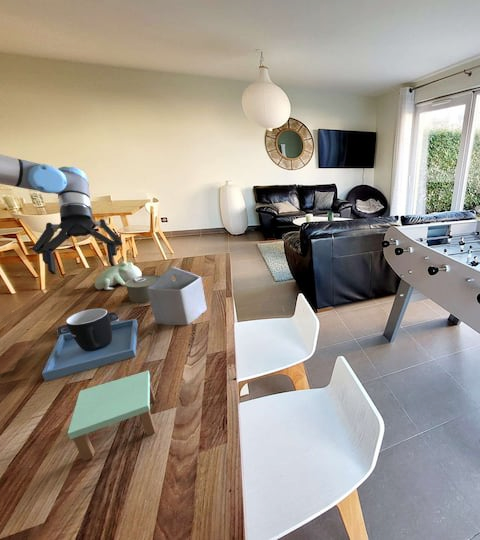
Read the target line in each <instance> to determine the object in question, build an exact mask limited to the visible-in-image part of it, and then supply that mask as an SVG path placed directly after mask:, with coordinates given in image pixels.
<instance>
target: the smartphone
mask: <svg viewBox="0 0 480 540" xmlns="http://www.w3.org/2000/svg"><path fill="white" fill-rule="evenodd" d="M108 315H109V318H110V323H111V324H113V323H118V322H120V318H119V317H118V314H117V313H116V312H113V311H112V312H108ZM56 332H57V337H58V338H59V336H60V335H62V334H66V333H70V331H69V329H68V326H67V324H66V323H65V324H63V325H59V326H57V327H56Z"/></svg>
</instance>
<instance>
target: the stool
mask: <svg viewBox="0 0 480 540" xmlns="http://www.w3.org/2000/svg"><path fill="white" fill-rule="evenodd" d="M154 402H156V396H155V393H154V390H153V387H152V383H151V374H150V371H149V370H145V371H142V372H138V373H136V374H132V375H128V376H125V377H122V378H119V379H115V380H111V381H109V382H105V383H102V384H98V385H94V386H92V387H88V388H85V389H82V390H81V389H80V390H79V393H78V395H77V399H76V403H75V406H74V410H73V413H72V417H71V420H70V424H69V427H68V431H67V436H68V438H69V440H73V442H74V444H75V447H76V449H77V451H78V453H79V455H80V457H81V459H82V461H83V462H86V461H88V460H92V459H94V457H95V452H96V451H95V449H94V446H93V445H92V443H91V440H90V438H89V436H88V434H89V433H92V432H95V431H97V430H98V431H99V430H101V429H103V428H106V427H108V426H111V425H114V424H117V423H120V422H123V421H125V420H128V419H131V418H135V417H136V416H139V417H140V420H141V423H142V426H143V429H144V431H145V432H144V433H145V435H146V437H148V436H149V437H150V436H151V435H154V434H156V425H155V423H154V419H153V416H152V413H151V408H150V407H151V404H152V403H154Z"/></svg>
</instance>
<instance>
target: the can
mask: <svg viewBox="0 0 480 540" xmlns="http://www.w3.org/2000/svg"><path fill="white" fill-rule="evenodd" d="M160 276H161V275H157V274H147V275H142V276H140V277H136V278H133V279H131V280H129V281H127V282H125V285H124V286H125V287H126V291H127V294H128V297H129V300H130V302H132V303H138V304H141V303H143V304H144V303H149V302H150V299H149V295H148V291H147V288H148V287H149V286H150V285H151V284H152V283H153V282H154V281H155V280H156V279H157V278H159V277H160Z"/></svg>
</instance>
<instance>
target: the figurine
mask: <svg viewBox="0 0 480 540" xmlns="http://www.w3.org/2000/svg"><path fill="white" fill-rule="evenodd" d="M142 274H143V273H142V271H141V270H140V268H139V267H138V266H136V265H134V263H133V262H132V261H129V262H128V261H125V260H124V259H123V260H120V263H119V264H114V266H110V267H108V268H106V269H104V270H103V271H102V272H101V273H100V274H99V275H98V276H97V277H96V278H95V280H94V288H95V289H97V290H102V289H104V290H105V291H110V290H114V289H115V288H114V286H116V285H117V286H118V285H119V284H120V285H121V286H125V283H126V282H127V281H129V280H131V279H133V278H136V277H140V276H143V275H142Z"/></svg>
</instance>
